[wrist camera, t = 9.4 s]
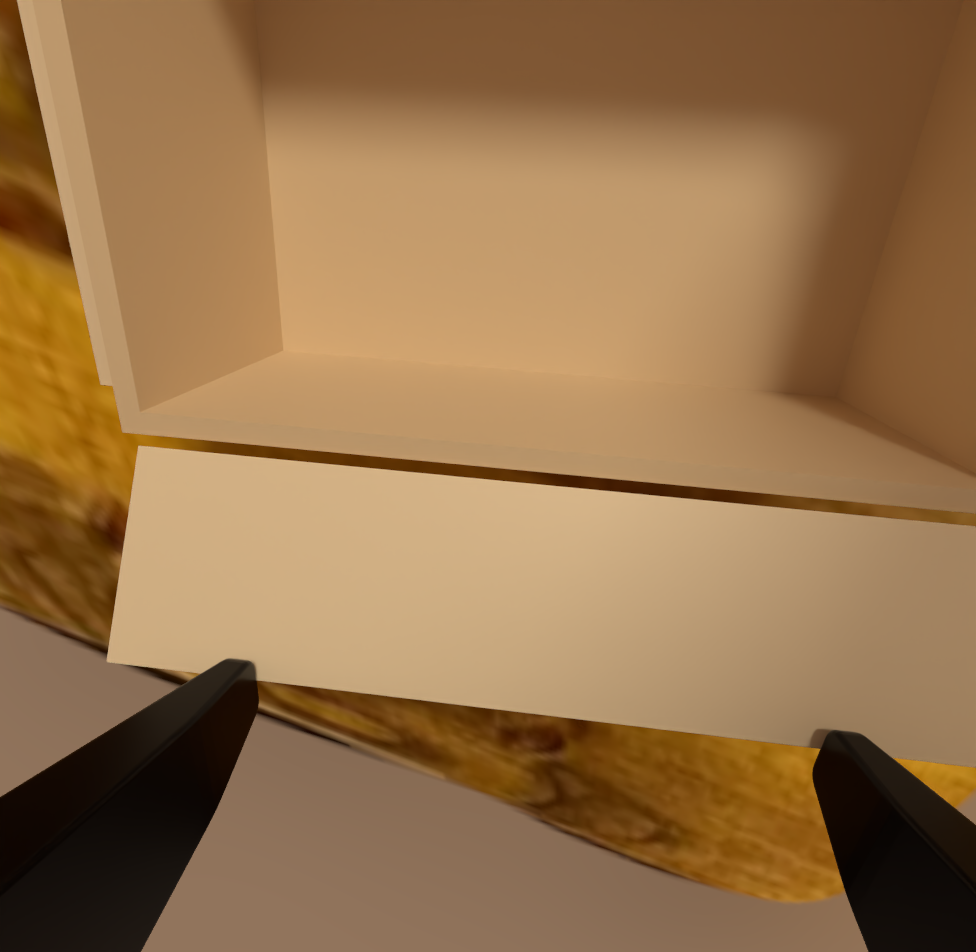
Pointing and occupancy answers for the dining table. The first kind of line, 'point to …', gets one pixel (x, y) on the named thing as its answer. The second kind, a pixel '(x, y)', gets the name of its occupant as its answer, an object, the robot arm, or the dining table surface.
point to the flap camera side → (555, 600)
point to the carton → (534, 232)
